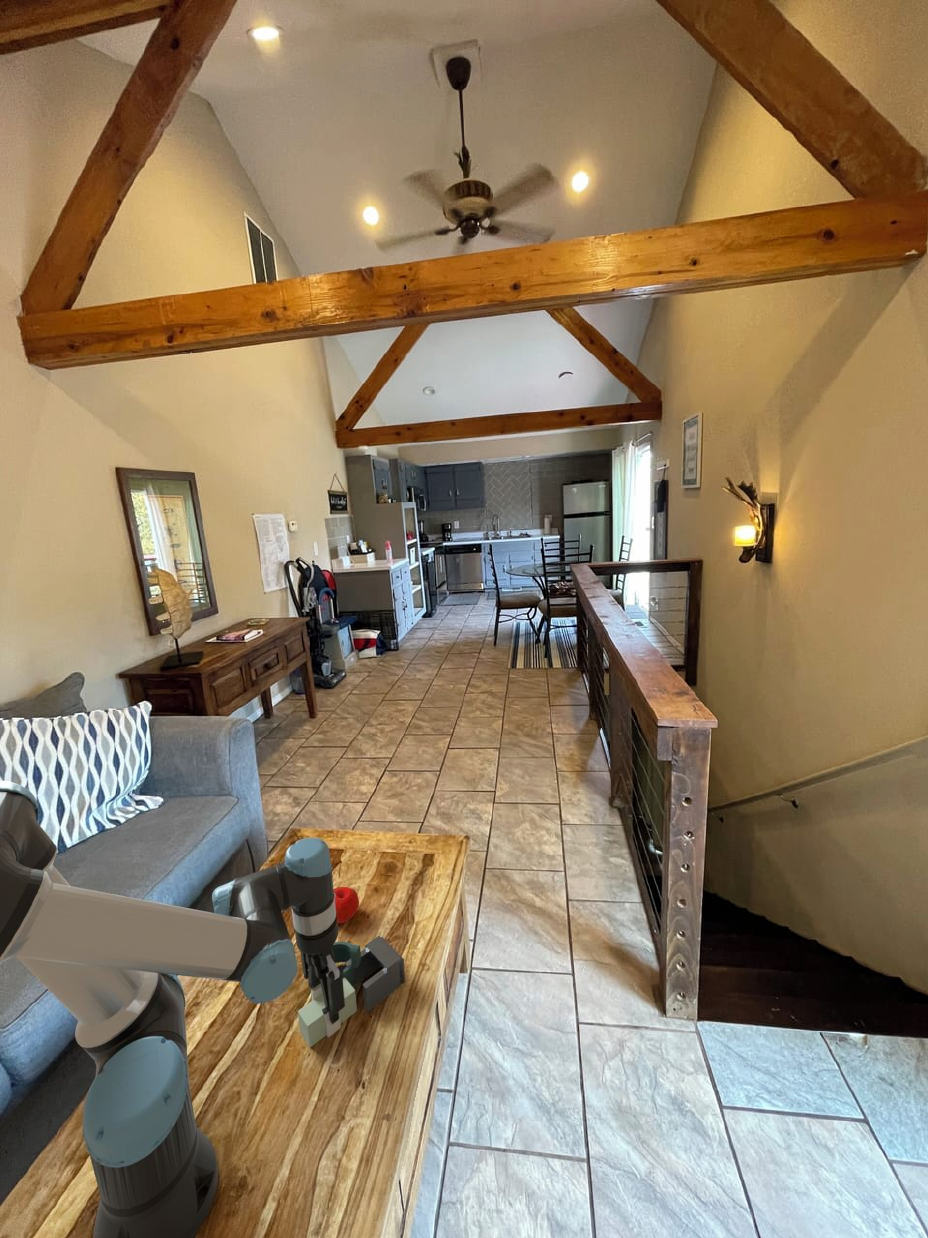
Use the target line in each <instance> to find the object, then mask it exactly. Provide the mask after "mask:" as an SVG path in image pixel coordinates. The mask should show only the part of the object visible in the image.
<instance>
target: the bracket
mask: <svg viewBox="0 0 928 1238" xmlns="http://www.w3.org/2000/svg"><path fill="white" fill-rule="evenodd" d="M333 949H334V961H335V964H338V963H345V962H347V961H348V960H350V959H351V964H352V965H350V966H349V967H346V968H345V967H344V968H343V976H342V977H343V978H344V977H345V978H346V980H347V981H348V982H349V983H350V985H351V986H352V987H353V986H354V972H353V968H357V967H358V966H359V964H360V962H361V951H362V950H361V945H360V944H353V943H351V942H347V941H335V942H334V944H333ZM354 987H355V986H354ZM354 987H353V988H354Z"/></svg>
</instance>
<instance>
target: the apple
mask: <svg viewBox="0 0 928 1238" xmlns="http://www.w3.org/2000/svg"><path fill="white" fill-rule="evenodd" d="M333 890H334V893H335V894H336V897H335V908H336V916H337V924H344V923H347V922H348V921H350V920H351V919H352V918H353V917H354V916H355V915H356V913H357V911H358V910H359V907H360V900H359V899H360V898H359V896H358V893H357V892H356V891H355V890H354V889H353V888H350V887H347V886H341V887H339V888H336V889H333Z"/></svg>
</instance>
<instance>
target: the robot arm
mask: <svg viewBox="0 0 928 1238" xmlns="http://www.w3.org/2000/svg"><path fill="white" fill-rule="evenodd" d="M39 808H40V807H39V804H38V800H37V798H36V797H35V795H34V794H33V793H32V792H31V790H30V789H28V788H27V787H24V786H22V785H20V784H18V783H15V782H12V781H8V780H0V964H2V963H4V962H5V961H7V960H9V959H13V958H17V959H18V960H20V962H21V963H22V964H23V965H24V966H25V967H26V968H27V969H28V970H29V971H30V972H31V973H32V974H33V976H34V977H36V978H37V979H38V980H39V981H40V983H41V984H42V985H43V986H44V987H45V988H46V990H48V991H49V992H50V993H51V995H53V997H55V999H57V1000H58V1001H59V1003H60V1004H61V1005H62V1006H63V1007H64V1008H65V1009H66V1010H68V1012H69V1013H70V1014H71V1015H72V1016H73V1017H74V1018H75V1019H76V1020H77V1023H76V1028H75V1031H74V1033H75V1034H74V1036H75V1041H76V1042H77V1044H78V1045H79V1046H80V1047H81V1048H82V1049H83V1050H84V1051H85V1052H86V1053H87V1054H88V1055H89V1056H90V1057H91V1059H93V1061H94V1063H95V1066H96V1070H95V1077H94V1079H93V1081H92V1083H91V1085H90V1087H89V1089H88V1091H87V1094H86V1096H85V1099H84V1103H83V1104H84V1105H83V1110H82V1136H83V1137H82V1138H83V1140H84V1143H85V1148H86V1150H87V1152H88V1154H89V1158H90V1161H91V1162H90V1163H91V1165H92V1169H93V1172H94V1173H93V1174H94V1177H95V1181H96V1185H97V1189H98V1192H99V1195H100V1198H99V1202H98V1208H97V1212H96V1216H95V1217H96V1218H95V1221H94V1222H95V1223H94V1227H93V1238H195V1237H196V1236H197V1234H198V1232H199V1231H200V1229H201V1228H202V1226H203V1225H204V1222H205V1221H206V1219H207V1217H208V1215H209V1212H210V1210H211V1208H212V1205H213V1203H214V1200H215V1197H216V1193H217V1188H218V1183H219V1165H218V1159H217V1158H218V1157H217V1155H216V1150H215V1148H214V1145H213V1143H212V1141H211V1140H210V1139H209V1137H207V1135H206V1134H204V1132H203V1131H201V1130H200V1128H198V1127H197V1123H196V1118H195V1113H194V1107H193V1101H192V1097H191V1096H192V1095H191V1087H190V1085H191V1084H190V1075H189V1061H188V1057H189V1056H188V1044H187V1030H186V1029H187V1028H186V1026H187V1025H186V1014H185V1013H186V1012H185V1011H186V997H185V991H184V989H183V986H182V983H181V981H180V978H179V977H178V976H180V977H181V976H183V977H190V978H201V979H209V980H216V981H217V980H219V981H225V982H227V981H228V982H232V983H233V982H234V983H235V982H236V983H239V984H240V985H239V986H240V988H241V991H242V992H243V995H244V997H245V998H246V999H247V1000H248V1001H250V1003H253V1004H259V1005H261V1004H266V1003H269V1002H272V1001H274V1000H276V999H278V998H279V997H281V996H283V994H284V993H286V991H287V990H288V989H289V988H290V986H291V985H292V984H293V982H294V979H295V978H296V975H297V972H298V961H297V956H296V950H295V945H294V942H293V941H292V940H291V939H292V938H291V936H290V933H289V930H288V926H287V924H286V921H285V919H284V915H283V912H284V911H287V910H289V909H290V908H291V915H292V925H293V927H294V934H295V935H294V936H295V943H296V947H297V949H298V950H299V951H300V959H301V965H302V966H301V967H302V972H303V978H304V979H305V980H308V981H307V982H308V983H307V984H308V987H309V988H310V993H311V1001H312V1000H314V999H315V998H316V997H318V996H319V995H321V994H322V993H323V998H324V1002H325V1006H324V1007H323V1009H322V1012H323V1014H324V1020H325V1028H326V1037H327V1038H330V1037H331V1036H332V1035H334V1034H335V1033H336V1032H338V1031H339V1030H340V1029H341V1028H342V1026H341V1024H342V1023H340V1014H339V1011H340V1010H341V1009H343V1008H344V1007H345V1000H344V989H343V977H342V976H343V970H344V967H343V966H342V964H339V965H337V964H336V963H335V961H334V949H333V944H334V942H337V938H338V936H339V926H338V924H339V923H337V916H336V908H335V897H336V894H335V893H334V890H335V889H334V878H333V863H332V861H331V855H330V849H329V844H327V842H326V841H324V840H323V839H322V838H319V837H305V838H302V839H299V840H297V841H296V842H295V843H294V844H291V845H289V847H288V848H287V850H286V852H285V855H284V861H281V862H279V863H277V864H275V865H271V866H270V867H269V866H268V867H266V868H264V869H263V868H262V869H261V870H258V871H255V872H252V873H249V874H246V875H245V876H244V875H243V876H241V877H237V878H234V880H232V881H229V882H227V883H224V884H223V885H220V886H218V887H216V888H215V889H214V890H213V892H212V893H211V899H212V905H213V912H209V911H205V910H199V909H195V908H194V909H193V908H190V907H189V908H187V907H183V906H177V905H173V904H167V903H163V902H162V903H161V902H156V901H151V900H147V899H140V898H135V897H130V896H123V895H121V894H115V893H108V892H105V891H99V890H94V889H88V888H83V887H77V886H73V885H72V886H71V885H70V884H69V883H68V881H67V880H66V879H65V877H64V876H63V875H62V874H61V873H60V872H59V870H58V869H57V868H56V867H55V866H54V861H55V859H56V857H57V853H58V847H57V845H56V844H55V843H54V841H53V840H52V839H51V838H50V836H49V835H48V834H47V832H46V831H45V830H44V828H42V826H41V825H40V824H39V822H38V820H39V817H40V809H39Z"/></svg>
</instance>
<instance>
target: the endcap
mask: <svg viewBox="0 0 928 1238" xmlns="http://www.w3.org/2000/svg"><path fill="white" fill-rule="evenodd" d="M360 951H361V962H360V964H359V966H358V967H357V968H353V972H354V986H353V988H355V987H356V986H357V985H358V984H360V983H361V982H362V981H364V980H365V979H366V978H367V977H369V976H370V975H372V974H373V973H374V972H376V971H377V970H378V969H379V968H382V969H381V970H379V971H378V972H377V973H376V974H374V975H373V976H372V977H370V978H369V979H367V980H366V981H365V982H363V983H362V993H363V1005H364V1007H363V1008H364V1010H365V1011H366V1012H367V1013H369V1012H371V1011H372V1009H374V1008H375V1007H377V1006H378V1005H379V1004H380V1003H381V1002H382V1001H384V1000H385V999H386V998H387V997H388V996H390V995H391V994H392V993H394V992H395V991H396V990H398V988H400V987H401V986H402V985H404V984H405V983H406V975H405V974H406V973H405V971H406V970H405V958H403V957H402V956H401V955H400V953H399V952H398V951H397V950H396V949H394V947H393V946H392V945H391V944H390V943H389V942H388V941H387V940H386V939H385V938H384V937H383V936H380V935H378V936H376V937H374V938H373V939H372V940H370V941H369V942H367V943H366V944H365V947H364V949H362V950H360ZM350 965H352V964H351V959H350V960H348V961H347V962H344V969H345V968H346V967H349V966H350Z"/></svg>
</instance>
